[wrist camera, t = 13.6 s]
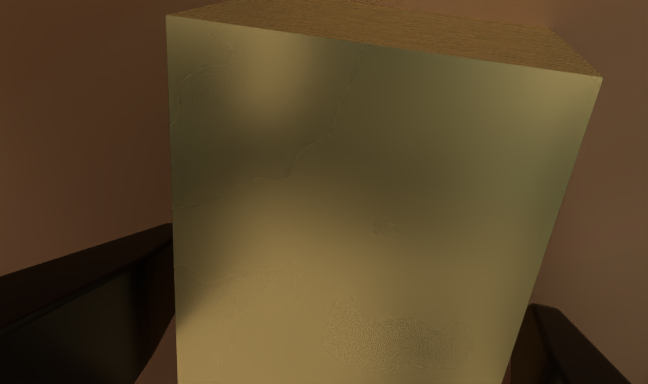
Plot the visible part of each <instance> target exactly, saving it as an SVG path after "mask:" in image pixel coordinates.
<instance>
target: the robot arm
mask: <svg viewBox="0 0 648 384" xmlns="http://www.w3.org/2000/svg"><path fill="white" fill-rule="evenodd" d="M174 314H175V282H174V252H173V223H166V224H163V225H160V226H157V227H153V228H150V229H147V230H144V231H141V232H138V233H135V234H132V235H128V236H125V237H122V238H119V239H116V240H113V241H110V242H107V243H103V244H100V245H97V246H94V247H91V248H88V249H85V250H82V251H78V252H75V253H72V254H69V255H66V256H63V257H60V258H56V259H53V260H50V261H47V262H44V263H41V264H38V265H35V266H31V267H28V268H25V269H22V270H19V271H16V272H13V273H10V274H6V275H3V276H0V384H134V383H135V381H136V380H137V378H138V377H139V375H140V374H141V372H142V371H143V369H144V368H145V366H146V365H147V363H148V361H149V360H150V358H151V357H152V355H153V353H154V351H155V350H156V348H157V346H158V344H159V342H160V341H161V339H162V337H163V335H164V333H165V331H166V329H167V327H168V325H169V323H170V322H171V320H172V318H173V316H174ZM511 384H631V383H630V382H629V381H628V380H627V379H626V378H625V377H624V376H623V375H622V374H621V373H620V372H619V371H618V370H617V369H616V367H615V366H614V365H613V364H612V363H611V362H610V361H609V360H608V359H607V358H606V357H605V356H604V355H603V354H602V353H601V352H600V351H599V350H598V349H597V348H596V347H595V346H594V345H593V344H592V343H591V342H590V341H589V340H588V339H587V338H586V337H585V336H584V335H583V334H582V333H581V332H580V331H579V330H578V328H577V327H576V326H575V325H574V324H573V323H572V322H571V321H570V320H569V319H568V318H567V317H566V316H565V315H564V314H563V313H562V312H561V311H560V310H559V309H556V308H553V307H549V306H544V305H539V304H534V303H532V304H530V305H528V307H527V309H526V312H525V315H524V318H523V321H522V324H521V327H520V330H519V333H518V336H517V339H516V342H515V345H514V348H513V351H512V356H511Z"/></svg>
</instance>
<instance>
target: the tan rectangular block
mask: <svg viewBox="0 0 648 384" xmlns="http://www.w3.org/2000/svg"><path fill="white" fill-rule="evenodd" d="M166 35H167V66H168V97H169V128H170V159H171V190H172V221H173V252H174V282H175V313H176V344H177V375H178V384H502V381H503V378H504V375H505V372H506V369H507V366H508V363H509V360H510V357H511V354H512V351H513V348H514V345H515V342H516V339H517V336H518V333H519V330H520V327H521V324H522V321H523V318H524V315H525V312H526V309H527V306H528V303H529V300H530V297H531V293H532V290H533V287H534V284H535V281H536V278H537V275H538V272H539V269H540V266H541V263H542V260H543V257H544V254H545V251H546V248H547V245H548V242H549V239H550V236H551V233H552V230H553V227H554V224H555V221H556V218H557V215H558V212H559V209H560V206H561V203H562V200H563V197H564V194H565V191H566V188H567V185H568V182H569V179H570V176H571V173H572V170H573V167H574V164H575V161H576V158H577V155H578V152H579V149H580V146H581V143H582V140H583V137H584V134H585V131H586V128H587V125H588V122H589V119H590V116H591V113H592V110H593V107H594V104H595V101H596V98H597V95H598V92H599V89H600V86H601V83H602V80H603V77H602V76H601V75H600V74H599V73H598V72H597V71H596V70H595V69H594V68H592V67H591V66H590V65H589V64H588V63H587V62H586V61H585V60H584V59H583V58H582V57H580V56H579V55H578V54H577V53H576V52H575V51H574V50H573V49H572V48H571V47H570V46H569V45H567V44H566V43H565V42H564V41H563V40H562V39H561V38H560V37H559V36H558V35H557V34H555V33H554V32H553V31H552V30H551V29H550V28H545V27H537V26H530V25H522V24H514V23H507V22H499V21H491V20H484V19H476V18H468V17H461V16H453V15H446V14H438V13H430V12H423V11H415V10H407V9H400V8H392V7H384V6H377V5H369V4H361V3H354V2H346V1H339V0H229V1H225V2H221V3H216V4H212V5H207V6H203V7H199V8H194V9H190V10H185V11H181V12H176V13H172V14H168V15H166Z"/></svg>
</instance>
